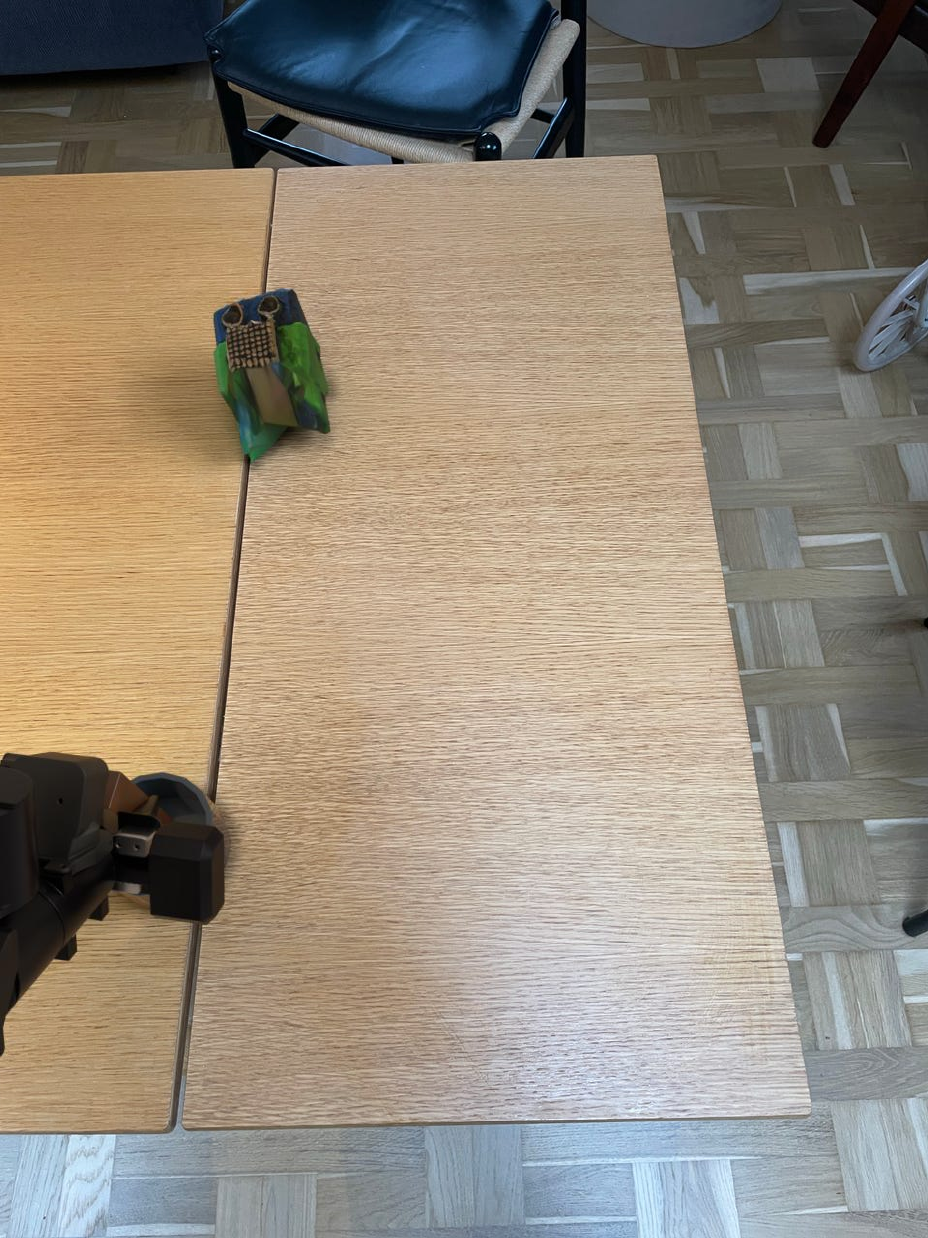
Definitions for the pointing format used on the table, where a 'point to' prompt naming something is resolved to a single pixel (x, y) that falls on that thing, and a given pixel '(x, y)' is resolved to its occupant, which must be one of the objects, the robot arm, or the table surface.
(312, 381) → the sculpture
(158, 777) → the cup
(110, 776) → the brown rectangular bar
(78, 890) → the robot arm
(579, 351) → the table surface
